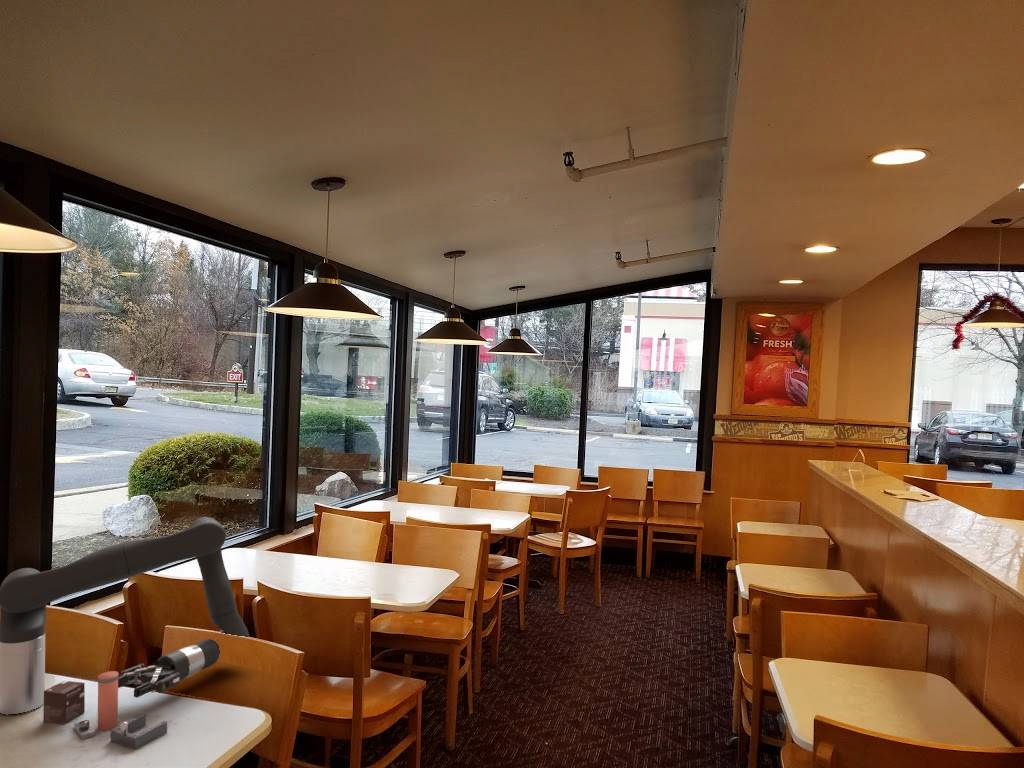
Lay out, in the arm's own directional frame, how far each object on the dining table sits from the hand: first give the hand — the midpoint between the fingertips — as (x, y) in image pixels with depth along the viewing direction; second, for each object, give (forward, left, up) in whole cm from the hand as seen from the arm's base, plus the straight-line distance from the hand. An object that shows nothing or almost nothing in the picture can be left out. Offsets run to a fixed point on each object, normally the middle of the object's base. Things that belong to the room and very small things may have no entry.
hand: (122, 689), depth 162 cm
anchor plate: (0, -8, -7) cm, 11 cm away
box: (-11, -9, -7) cm, 16 cm away
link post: (+1, -3, -7) cm, 8 cm away
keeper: (+11, +1, -7) cm, 13 cm away
